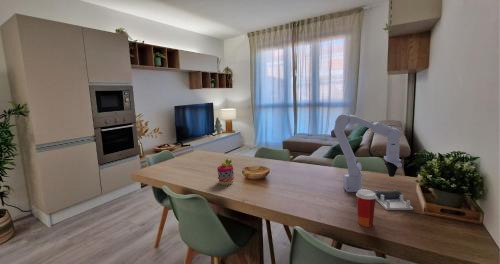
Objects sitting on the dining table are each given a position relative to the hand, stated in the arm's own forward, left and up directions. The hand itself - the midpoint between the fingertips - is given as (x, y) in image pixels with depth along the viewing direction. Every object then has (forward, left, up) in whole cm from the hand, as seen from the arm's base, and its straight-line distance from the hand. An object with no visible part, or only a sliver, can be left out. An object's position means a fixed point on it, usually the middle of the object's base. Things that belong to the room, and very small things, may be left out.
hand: (391, 176), depth 126 cm
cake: (-93, +22, -11) cm, 96 cm away
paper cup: (-24, -28, -11) cm, 38 cm away
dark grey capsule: (-4, -6, -9) cm, 12 cm away
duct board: (-4, -9, -10) cm, 14 cm away
